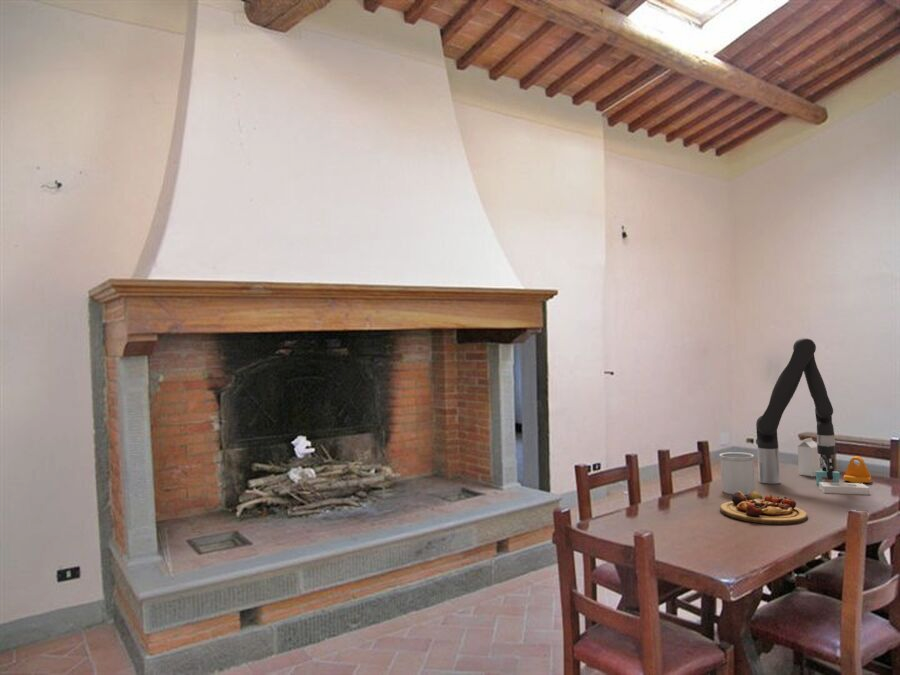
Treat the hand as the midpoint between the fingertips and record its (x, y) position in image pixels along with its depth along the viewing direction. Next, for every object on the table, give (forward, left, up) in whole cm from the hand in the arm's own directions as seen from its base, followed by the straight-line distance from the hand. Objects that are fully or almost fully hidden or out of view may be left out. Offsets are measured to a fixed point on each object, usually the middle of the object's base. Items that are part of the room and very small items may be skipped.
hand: (827, 477), depth 295 cm
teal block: (0, 0, -4) cm, 4 cm away
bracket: (+15, +10, -4) cm, 18 cm away
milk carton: (-3, +23, -4) cm, 24 cm away
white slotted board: (+3, -13, -4) cm, 14 cm away
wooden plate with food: (-37, -60, -4) cm, 71 cm away
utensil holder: (-42, -22, -4) cm, 48 cm away
